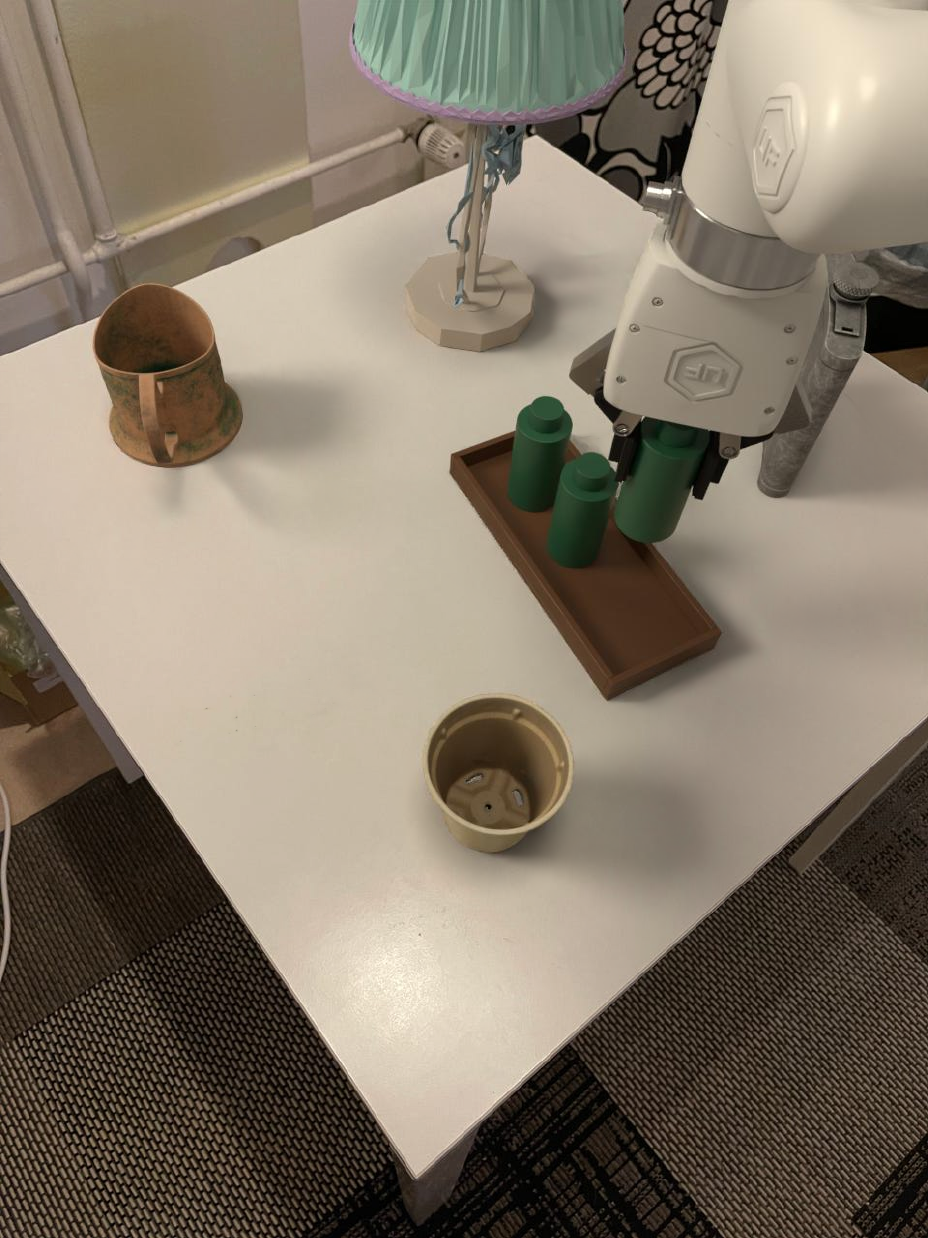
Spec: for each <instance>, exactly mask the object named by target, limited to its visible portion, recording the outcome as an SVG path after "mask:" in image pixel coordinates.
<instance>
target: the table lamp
mask: <svg viewBox="0 0 928 1238" xmlns="http://www.w3.org/2000/svg"><path fill="white" fill-rule="evenodd" d="M623 3H624V2H623V0H357V6H356V12H355V16H354V19H353V21H352V22H351V28H350V30H349V36H348V46H349V53H350V57H351V60H352V61H353V64H354V66H355V68H356V70H357V71H358V73H360V75H361V76H362V77H363V78H364V79H365V81H366V82H367V83H368V84H370V85H371V87H373V88H374V89H376V90H377V91H378V92H379V93H382V94H383V95H385V96H386V97H387V98H389V99H390V100H393V101H394V102H396V103H398V104H400V105H403V106H405V107H407V108H410V109H411V110H415V111H416V112H420V113H423V114H426V115H430V116H433V117H435V118H441V119H445V120H448V121H449V120H450V121H455V122H459V123H464V124H467V132H468V139H469V147H470V152H469V159H468V165H467V172H466V178H465V185H464V192H463V196H462V198H461V199H460V201H459V202H458V204H457V209H456V211H454V213H453V215H452V216H451V217H450V219H449V221H448V223H447V225H446V228H445V229H446V235H447V240H448V244H455V247H456V250H457V251H455V252H449V253H444V254H439V255H433V256H427V258H426V259H425V261H424V262H423V263H422V264H421V265H420V267H419V268H418V269H417V270H416V271H415V272H414V274H413V275H412V276H411V277H410V278H409V280H407V282H406V283H405V312H406V314H407V316H408V317H409V320H410V321H411V323H412V324H413V326H414V328H415V330H416V331H417V332H418V333H420V334H421V335H423V336H425V337H426V338H428V339H429V340H431V341H432V342H433V343H435V344H436V345H438V346H440V347H446V348H452V349H459V350H466V351H472V352H478V353H481V352H484V351H487V350H491V349H494V348H498V347H501V346H503V345H508V344H511V343H513V342H516V341H517V340H518V339H519V337H520V336H521V335H522V333H523V332H524V331H525V329H526V328H527V327H528V325H529V324H530V322H531V321H533V319H534V305H535V285H534V284H533V282H532V281H531V280H530V279H529V278H528V277H527V276H526V275H525V273H524V272H523V271H522V270H520V268H519V267H518V266H517V264H515V262H513V260H510V259H507V258H503V257H500V256H496V255H492V254H488V253H485V252H484V251H485V246H486V237H487V232H488V227H489V221H490V215H491V210H492V203H493V194H494V193H495V192H496V191H497V189H498V186H499V184H500V181H501V179H500V175H501V176H502V178H503V180H504V183H505V185H506V186H510V184H512V183H513V181H514V180H516V178H518V176H519V175H520V174H521V170H522V164H523V163H522V161H523V159H522V157H523V156H522V154H523V153H522V152H523V146H524V145H523V144H524V136H525V135H526V129H527V125H537V124H542V123H549V122H553V121H558V120H562V119H565V118H569V117H573V116H575V115H577V114H580V113H583V112H585V111H587V110H589V109H591V108H593V107H595V106H597V105H599V104H600V103H601V102H603V101H604V100H605V99H607V98H608V97H609V96H611V94H612V93H614V91H615V90H616V89H617V88H618V86H619V85H620V83H621V81H622V79H623V77H624V75H625V71H626V70H627V68H626V67H627V61H628V55H627V48H626V41H625V15H624V14H625V13H624V5H623ZM504 126H514V127H515V129H514V132H512V133H510V134H508V132H507V129H506V128H505V127H504ZM500 132H502V133H500ZM473 138H474V140H473ZM495 149H498V153H496V152H494V151H493V150H495ZM486 164H487V165H486ZM486 166H487V167H486ZM485 175H487V180H486V182H487V183H486V185H485V177H486V176H485ZM461 212H462V215H461V216H462V217H461V223H460V231H459V240H458V239H452V230H453V224H454V222H455V220H456V218H457V217H458V215H459V214H460V213H461Z"/></svg>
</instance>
